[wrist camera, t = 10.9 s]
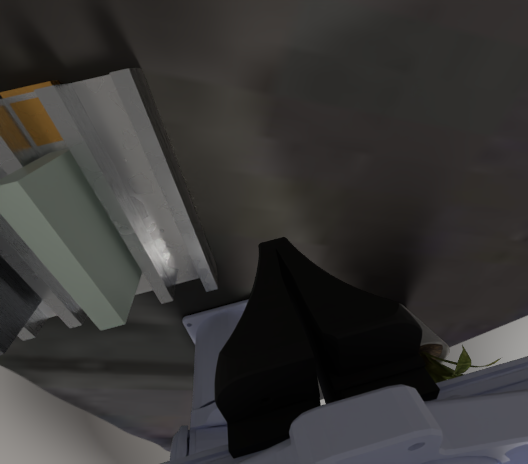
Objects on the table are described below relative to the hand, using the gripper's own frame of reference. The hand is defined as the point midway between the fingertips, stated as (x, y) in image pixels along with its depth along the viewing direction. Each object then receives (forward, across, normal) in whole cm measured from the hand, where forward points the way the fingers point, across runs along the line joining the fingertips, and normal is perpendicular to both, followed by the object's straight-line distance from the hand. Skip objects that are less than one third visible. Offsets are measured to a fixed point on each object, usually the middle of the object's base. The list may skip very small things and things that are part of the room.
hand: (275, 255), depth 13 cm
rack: (+9, +13, -1) cm, 16 cm away
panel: (+8, +11, -1) cm, 14 cm away
